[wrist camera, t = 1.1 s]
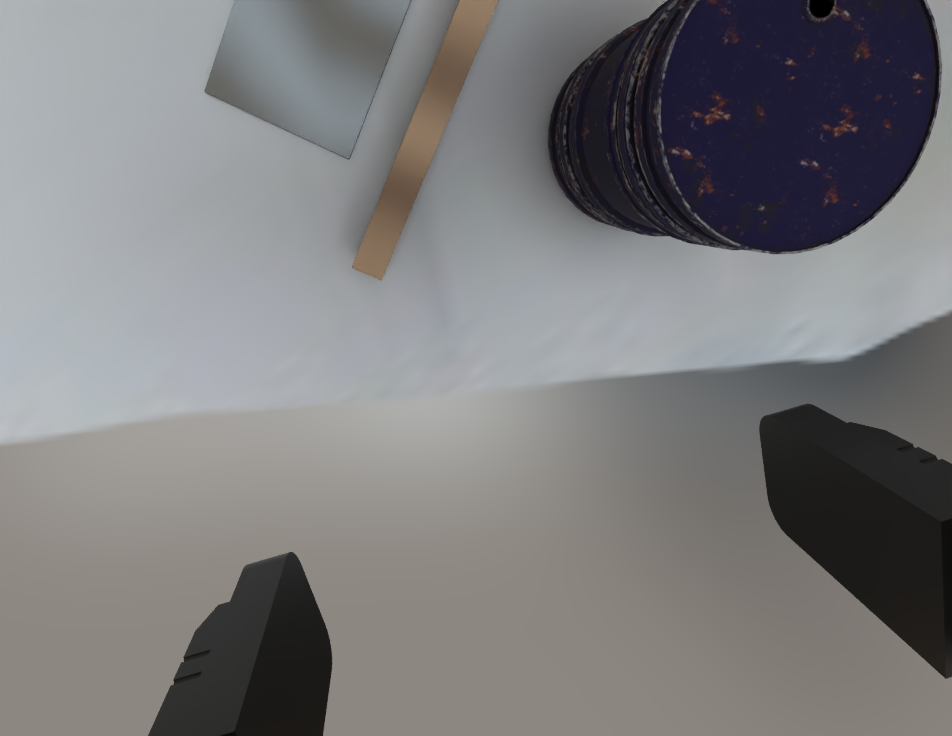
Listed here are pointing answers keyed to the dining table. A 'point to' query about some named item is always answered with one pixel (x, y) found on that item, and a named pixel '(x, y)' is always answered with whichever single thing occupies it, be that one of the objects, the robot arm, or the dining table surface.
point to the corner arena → (344, 86)
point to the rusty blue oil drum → (750, 120)
